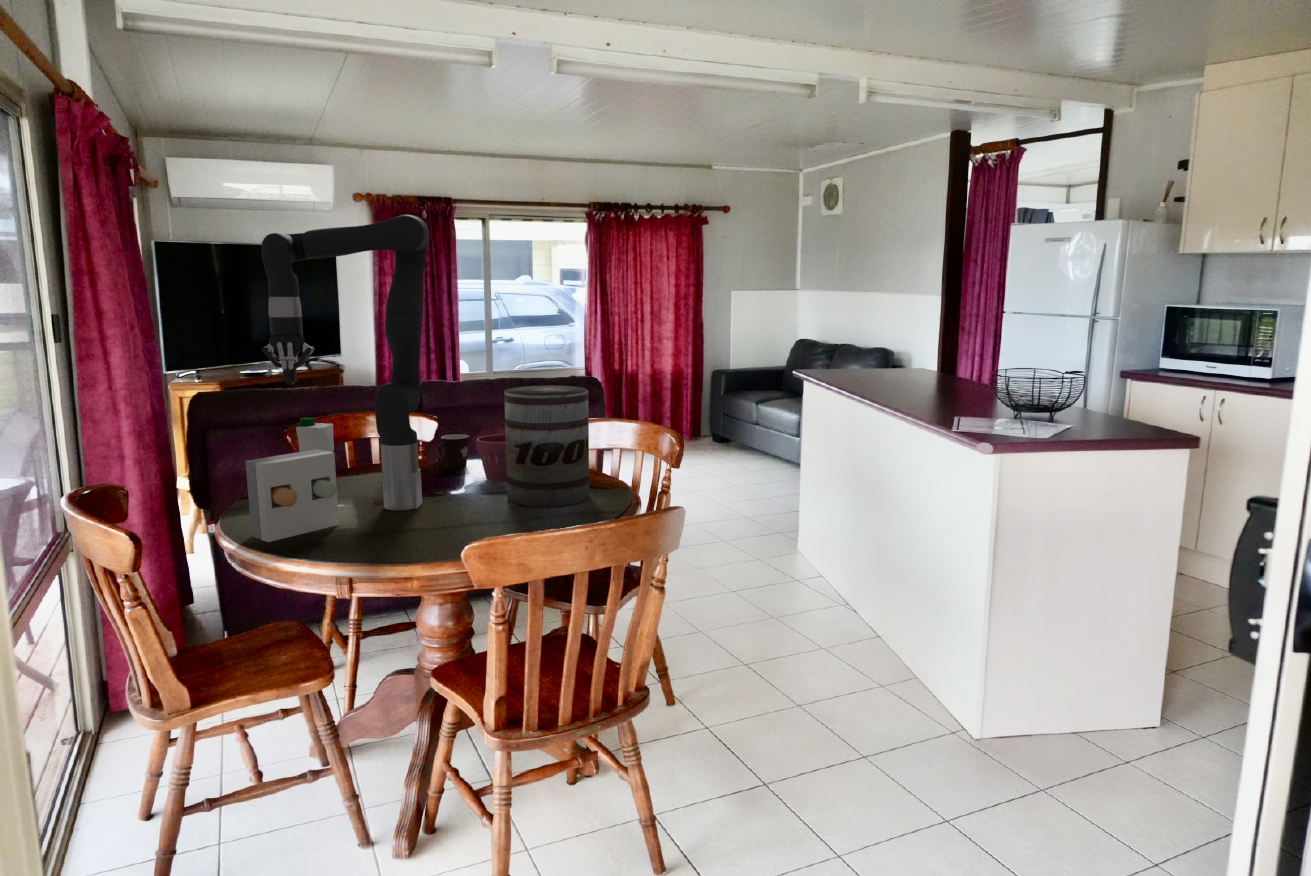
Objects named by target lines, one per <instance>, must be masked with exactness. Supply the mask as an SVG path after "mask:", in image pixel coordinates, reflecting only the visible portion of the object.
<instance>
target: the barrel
mask: <svg viewBox="0 0 1311 876" xmlns="http://www.w3.org/2000/svg"><path fill="white" fill-rule="evenodd" d="M503 392H504V418H505V419H504V421H505V424H504V425H505V426H504V427H505V434H506V465H507V482H506V488H507V489H506V493H507V495H506V496H507V502H508V503H509V504H510V505H514V506H516V507H522V508H526V509H527V508H528V509H547V510H548V509H559V508H561V509H563V508H568V507H574V506H578V505H581V504H584V503H585V502H587V501H588V500H589V499H590V452H589V451H590V446H589V445H590V440H589V439H590V437H589V390H588V388H585V387H581V386H580V387H579V386H574V385H573V386H571V385H529V386H528V385H527V386H516V387H511V388H507V389H504V391H503Z"/></svg>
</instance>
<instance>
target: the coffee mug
mask: <svg viewBox="0 0 1311 876" xmlns="http://www.w3.org/2000/svg"><path fill="white" fill-rule="evenodd" d="M440 437H441V444H440V445H439V447H438V453H439V455H440V456H441V457H442V458H443V459H444V463H445V468H446V469H448V470H461V469H465V468H467V462H468V452H469V449H468V448H469V435H466V434H461V433H460V434H446V435H442V436H440ZM441 451H443V453H442V452H441Z"/></svg>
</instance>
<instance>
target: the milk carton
mask: <svg viewBox="0 0 1311 876" xmlns="http://www.w3.org/2000/svg"><path fill="white" fill-rule="evenodd" d="M295 430H296V435H297V440H298V449H299V452H303V451H309V450H316V449H319V450H323V451H328V452H333V453H334V454H335V447H334V424H333V423H324V422H321V423H320V422H317V423H316V418H315V417H312V416H311V417H310V416H309V417H308V416H307V417H300V418H299V425H298V426H296V427H295Z"/></svg>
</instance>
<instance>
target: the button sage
mask: <svg viewBox="0 0 1311 876" xmlns="http://www.w3.org/2000/svg"><path fill="white" fill-rule="evenodd" d="M311 487H312V495H316V496H320V497H324V498H331V497H333V496H334V495H335V493H336V487H337V484H336V485H335V484H334V483H333V482H330V481H326V480H322V479H312V480H311Z"/></svg>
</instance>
